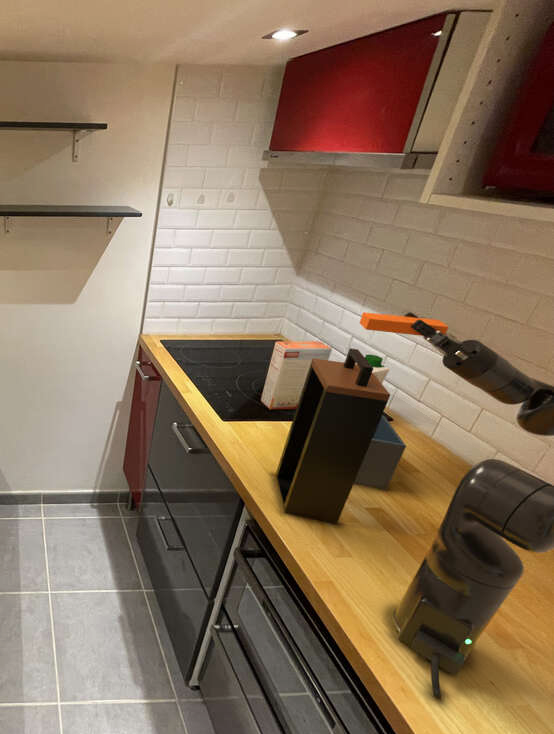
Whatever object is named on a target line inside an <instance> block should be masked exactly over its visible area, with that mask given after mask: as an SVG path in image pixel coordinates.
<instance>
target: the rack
mask: <svg viewBox="0 0 554 734" xmlns="http://www.w3.org/2000/svg"><path fill="white" fill-rule="evenodd" d="M355 363H357V364H355ZM372 371H373V367H372V366H371V364H370V363H369V362H368V361H367V360H366V358H365V356H364V355H363V354H362V353H361V351H360V350H359V349H358V348H349V349H348V351H347V354H346V357H345V360H344V361H335V360H329V359H328V360H322V359H314V358H313V359H312V362H311V365H310V368H309V371H308V374H307V377H306V381H305V384H304V387H303V390H302V393H301V396H300V399H299V402H298V406H297V409H295V412H294V415H293V418H292V421H291V424H290V428H289V432H288V434H287V436H286V437H287V438H286V441H285V444H284V447H283V449H282V452H281V456H280V459H279V462H278V465H277V469H276V471H275V475H274V477H275V481H276V485H277V489H278V493H279V496H280V501H281V505H282V509H283V512H284V513H285V514H288V515H292V516H293V515H294V516H298V517H300V518H301V517H302V518H307V519H310V520H315V521H318V522H323V523H327V524H332V525H338V522H339V521H340V517H341V515H342V513H343V511H344V508H345V505H346V503H347V501H348V498H349V495H350V494H351V491H352V489H353V486H354V484H355V483H354V481H355V479H356V477H357V474H358V472H359V469H360V467H361V465H362V462H363V460H364V457H365V455H366V453H367V450H368V448H369V445H370V443H371V441H372V438H373V436H374V433H375V431H376V429H377V426H378V424H379V421H380V419H381V416H383V414H384V411H385V409H386V406H387V404H388V402H389V400H390V397H391V393H390V392H389V391H388V390H387V388H386V387H385V386H384V385H383V383H382V384H381V383H380V381H379V380H378V379H377V378H376V376H375V375H374V374H373V373H372Z"/></svg>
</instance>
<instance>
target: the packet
mask: <svg viewBox="0 0 554 734" xmlns="http://www.w3.org/2000/svg"><path fill="white" fill-rule="evenodd" d="M404 316H405V315H393V314H384V313H374V312H373V313H372V312H362V313H361V317H360V321H359V324H360V326H361V327H362V328H364V329H365V330H366V331H374V332H376V331H377V332H384V333H391V334H392V333H393V334H401V335H411V336H419V337H420V336H421V337H423V335H421V334H420V333H418V332H417V331H415V330H414V329H413V328H411V325H412V324H413V323H414V322H416V321H417V320H422V321H423V322H425V323H426V324H428V325H429V326H431V327H432V328H434V329H435V331H436V330H438V331H441V333H442V334H444V335H445V334H446V333H448V330H449V327H450V326H448V325H447V324H445V323H444V322H442V321H441V320H439V319H433V318H423V317H419V318H414V317H404ZM435 331H434V332H435ZM441 337H442V336H441Z"/></svg>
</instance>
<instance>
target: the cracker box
mask: <svg viewBox="0 0 554 734" xmlns="http://www.w3.org/2000/svg"><path fill="white" fill-rule="evenodd" d="M332 350H333V348H332V347H331V346H329V345H328V344H326V343H324V342H323V341H320V340H317V341H314V340H312V341H309V340H308V341H307V340H306V341H305V340H304V341H303V340H302V341H275V343H274V347H273V351H272V355H271V359H270V362H269V367H268V371H267V374H266V378H265V383H264V385H263V386H264V387H263V390H262V393H261V396H260V397H261V398H260V401H261V403H262V404H263V405H264V406H266V407H267V408H268V410H296V409H297V406H298V402H299V399H300V396H301V393H302V390H303V387H304V384H305V381H306V377H307V374H308V371H309V368H310V365H311V362H312V359H313V358H314V359H322V360H329V359H330V356H331V353H332Z"/></svg>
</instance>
